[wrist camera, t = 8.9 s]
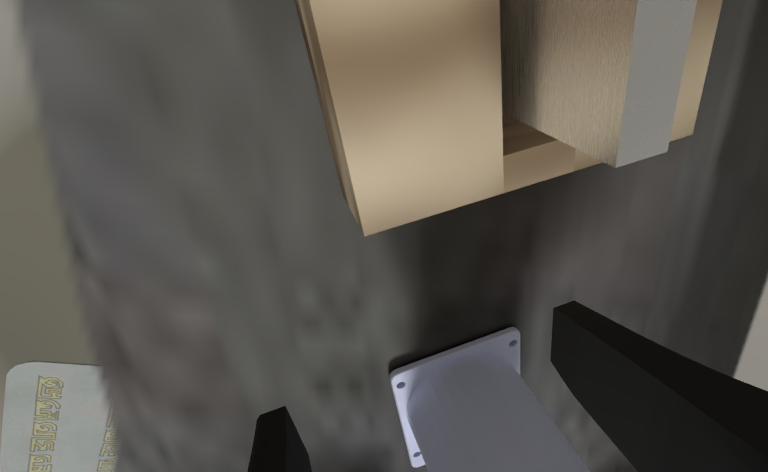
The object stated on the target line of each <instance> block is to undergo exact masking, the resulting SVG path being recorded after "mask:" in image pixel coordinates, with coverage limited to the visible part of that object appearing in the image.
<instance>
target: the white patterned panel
mask: <svg viewBox="0 0 768 472" xmlns="http://www.w3.org/2000/svg"><path fill="white" fill-rule="evenodd" d="M0 447H1V448H0V472H114V466H115V450H114V446H113V428H112V425H111V423H110V417H109V408H108V405H107V404H106V400H105V391H104V388H103V386H102V384H101V381H100V375H99V371H98V369H97V367H96V365H95V364H81V363H65V362H51V361H36V360H35V361H26V362H22V363H18V364H16V365H15V366H13V367H12V368H11V369H10V370H9V372H8V373H7V375H6V385H5V397H4V410H3V422H2V434H1V446H0Z"/></svg>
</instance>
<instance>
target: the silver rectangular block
mask: <svg viewBox="0 0 768 472" xmlns="http://www.w3.org/2000/svg"><path fill="white" fill-rule="evenodd" d="M696 5H697V0H500V39H501V84H502V113H504V114H506V115H508V116H510V117H512V118H514V119H516V120H518V121H520V122H522V123H524V124H526V125H529V126H531V127H533V128H535V129H537V130H539V131H541V132H543V133H545V134H547V135H549V136H551V137H553V138H555V139H557V140H559V141H561V142H563V143H566V144H568V145H570V146H572V147H574V148H576V149H578V150H580V151H582V152H584V153H586V154H588V155H590V156H592V157H594V158H596V159H598V160H600V161H602V162H605V163H607V164H609V165H611V166H613V167H615V168H617V167H620V166H623V165H626V164H629V163H633V162H636V161H639V160H642V159H645V158H649V157H652V156H655V155H658V154H661V153H665V152H667V151H668V146H669V141H670V135H671V130H672V125H673V120H674V115H675V110H676V105H677V100H678V95H679V90H680V85H681V80H682V75H683V70H684V65H685V60H686V55H687V50H688V45H689V40H690V35H691V30H692V25H693V20H694V15H695V10H696Z"/></svg>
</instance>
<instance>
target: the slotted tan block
mask: <svg viewBox="0 0 768 472" xmlns="http://www.w3.org/2000/svg"><path fill="white" fill-rule="evenodd" d="M722 2H723V0H697V5H696V10H695V15H694V20H693V25H692V30H691V35H690V40H689V45H688V50H687V55H686V60H685V65H684V70H683V75H682V80H681V85H680V90H679V95H678V100H677V105H676V110H675V115H674V120H673V125H672V130H671V135H670V141H673V140H676V139H679V138H683V137H686V136H689V135H692V134H693V130H694V126H695V121H696V117H697V113H698V108H699V104H700V99H701V95H702V90H703V86H704V81H705V77H706V73H707V68H708V64H709V59H710V55H711V50H712V46H713V41H714V37H715V33H716V28H717V24H718V19H719V15H720V10H721V6H722ZM295 4H296V8H297V12H298V16H299V20H300V24H301V28H302V32H303V36H304V40H305V44H306V48H307V52H308V56H309V60H310V64H311V68H312V72H313V76H314V80H315V84H316V88H317V92H318V96H319V100H320V104H321V108H322V112H323V116H324V120H325V124H326V128H327V132H328V136H329V140H330V144H331V148H332V152H333V156H334V160H335V164H336V168H337V172H338V176H339V180H340V184H341V188H342V192H343V196H344V198H345V200H346V202H347V204H348V206H349V208H350V210H351V212H352V214H353V215H354V217H355V219H356V221H357V223H358V225H359V227H360V229H361V231H362V233H363V235H364V237H365V236H368V235H371V234H374V233H378V232H381V231H384V230H387V229H390V228H394V227H397V226H400V225H403V224H406V223H410V222H413V221H416V220H419V219H423V218H426V217H429V216H432V215H435V214H439V213H442V212H445V211H448V210H451V209H455V208H458V207H461V206H464V205H467V204H471V203H474V202H477V201H480V200H484V199H487V198H490V197H493V196H496V195H500V194H503V193H506V192H509V191H512V190H516V189H519V188H522V187H525V186H529V185H532V184H535V183H538V182H541V181H545V180H548V179H551V178H554V177H557V176H561V175H564V174H567V173H570V172H573V171H577V170H580V169H583V168H586V167H590V166H593V165H596V164H599V163H602V161H600V160H598V159H596V158H594V157H592V156H590V155H588V154H586V153H584V152H582V151H580V150H578V149H576V148H574V147H572V146H570V145H568V144H566V143H563V142H561V141H559V140H557V139H555V138H553V137H551V136H549V135H547V134H545V133H543V132H541V131H539V130H537V129H535V128H533V127H531V126H529V125H526V124H524V123H522V122H520V121H518V120H516V119H514V118H512V117H510V116H508V115H506V114H504V113H502V84H501V39H500V0H295ZM670 141H669V142H670Z"/></svg>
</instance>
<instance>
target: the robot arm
mask: <svg viewBox="0 0 768 472" xmlns="http://www.w3.org/2000/svg"><path fill="white" fill-rule="evenodd" d="M551 362H552V364H553V365H554V367H555V368H556V370H557V371H558V373H559V374H560V376H561V378H562V379H563V381H564V382H565V384H566V385H567V386H568V388H569V389H570V391H571V392H572V394H573V395H574V396H575V398H576V399H577V400H578V401H579V402H580V404H581V405H582V406H583V407H584V408H585V410H586V411H587V412H588V413H589V414H590V416H591V417H592V418H593V419H594V420H595V422H596V423H597V424H598V425H599V426H600V427H601V429H602V430H603V431H604V432H605V433H606V435H607V436H608V437H609V438H610V439H611V440H612V442H613V443H614V444H615V445H616V446H617V447H618V449H619V450H620V451H621V452H622V453H623V455H624V456H625V457H626V458H627V459H628V460H629V462H630V463H631V464H632V465H633V466H634V468H635V469H636V470H637V471H638V472H768V391H765V390H762V389H760V388H757V387H755V386H752V385H750V384H747V383H744V382H742V381H739V380H737V379H734V378H732V377H730V376H727V375H725V374H722V373H720V372H718V371H715V370H713V369H711V368H709V367H706V366H704V365H702V364H700V363H697V362H695V361H693V360H691V359H688V358H686V357H684V356H682V355H680V354H678V353H676V352H674V351H671V350H669V349H667V348H665V347H663V346H661V345H659V344H657V343H655V342H653V341H651V340H649V339H647V338H645V337H643V336H641V335H639V334H637V333H635V332H633V331H631V330H629V329H627V328H626V327H624V326H622V325H620V324H618V323H616V322H614V321H612V320H610V319H608V318H606V317H605V316H603V315H601V314H599V313H597V312H595V311H593V310H591V309H589V308H587V307H585V306H584V305H582V304H580V303H578V302H576V301H572V302H569V303H566V304H563V305H561V306H558V307H555V308H554V309H553V327H552V345H551ZM389 378H390V382H391V386H392V390H393V394H394V398H395V402H396V407H397V411H398V415H399V419H400V423H401V427H402V431H403V435H404V439H405V443H406V447H407V451H408V455H409V459H410V462H411V465H412V466H413V467H420V466H423V465H426V467H427V470H428V472H590V471H589V469H588V468H587V467H586V465H585V464H584V463H583V461H582V460H581V458H580V457H579V456H578V454H577V453H576V452H575V450H574V449H573V448H572V446H571V445H570V443H569V442H568V441H567V439H566V438H565V437H564V435H563V434H562V432H561V431H560V430H559V428H558V427H557V426H556V424H555V423H554V422H553V420H552V419H551V417H550V416H549V415H548V413H547V412H546V411H545V409H544V408H543V407H542V405H541V404H540V402H539V401H538V400H537V398H536V397H535V396H534V394H533V393H532V391H531V390H530V389H529V387H528V386H527V385H526V383H525V382H524V381H523V379H522V378H521V376H520V332H519V331H518V329H517V328H515V327H510V328H507V329H504V330H501V331H499V332H496V333H493V334H490V335H488V336H485V337H482V338H479V339H477V340H474V341H471V342H468V343H466V344H463V345H460V346H458V347H455V348H452V349H449V350H447V351H444V352H441V353H438V354H436V355H433V356H430V357H428V358H425V359H422V360H419V361H417V362H414V363H411V364H408V365H406V366H403V367H400V368H397V369H395V370H393V371H392V372H391V374H390V375H389ZM248 472H312V470H311V465H310V460H309V456H308V453H307V451H306V448H305V446H304V444H303V442H302V440H301V438H300V436H299V434H298V432H297V429H296V427H295V425H294V423H293V421H292V419H291V417H290V415H289V412H288V410H287V408H286V406H284V407H281V408H278V409H276V410H273V411H270V412H267V413H265V414H262V415H260V416H259V418H258V419H257V423H256V430H255V436H254V442H253V448H252V453H251V458H250V463H249V467H248Z"/></svg>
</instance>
